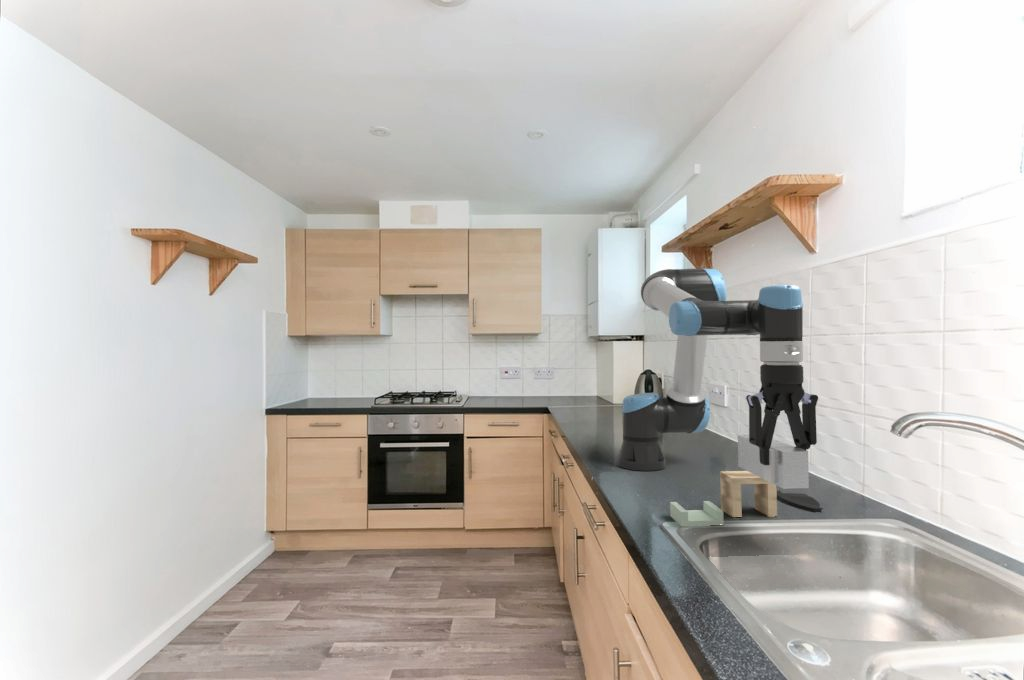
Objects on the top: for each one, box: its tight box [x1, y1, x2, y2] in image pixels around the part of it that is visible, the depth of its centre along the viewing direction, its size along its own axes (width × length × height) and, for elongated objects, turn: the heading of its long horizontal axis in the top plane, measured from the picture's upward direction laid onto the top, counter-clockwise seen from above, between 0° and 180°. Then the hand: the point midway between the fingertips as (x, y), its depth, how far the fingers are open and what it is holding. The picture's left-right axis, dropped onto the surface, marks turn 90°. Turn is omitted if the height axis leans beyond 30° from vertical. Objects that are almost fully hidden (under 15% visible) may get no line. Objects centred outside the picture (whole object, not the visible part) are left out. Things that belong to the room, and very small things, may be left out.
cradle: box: [669, 500, 724, 528], centre depth 111 cm, size 7×9×3 cm
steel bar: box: [737, 434, 810, 490], centre depth 103 cm, size 17×5×7 cm, turn 3°
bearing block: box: [719, 470, 778, 518], centre depth 116 cm, size 6×10×9 cm, turn 92°
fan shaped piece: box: [777, 490, 824, 513], centre depth 122 cm, size 8×14×2 cm, turn 172°
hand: (783, 480), depth 99 cm, fingers closed on steel bar, 5 cm apart
